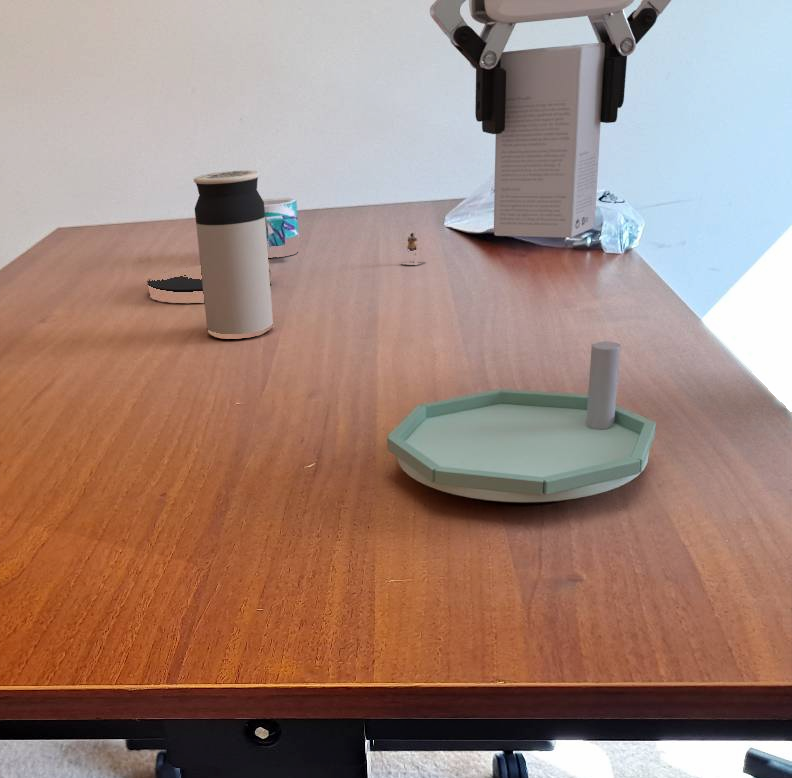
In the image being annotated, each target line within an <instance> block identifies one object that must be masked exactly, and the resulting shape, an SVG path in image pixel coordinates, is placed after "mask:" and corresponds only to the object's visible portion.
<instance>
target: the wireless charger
mask: <svg viewBox="0 0 792 778" xmlns="http://www.w3.org/2000/svg"><path fill="white" fill-rule="evenodd" d="M269 272H270V273H271V269H270V270H269ZM184 276H186V275H184ZM146 283H148V284H147V286H148V285H149V286H151V287H153V288H156V289H160V290H166V291H173V292H193V291H203V284H202V279H201V280H200V279H192V278H189V279H188V277H183V276H180V277H174V278H170V279H167V280H163V279H162V280H161V281H160V280H157V281H155V280H154V281H153V280H152V281H150V280H149V281H148V280H147V281H146Z"/></svg>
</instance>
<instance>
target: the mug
mask: <svg viewBox="0 0 792 778" xmlns="http://www.w3.org/2000/svg"><path fill="white" fill-rule="evenodd" d="M262 200H263V201H264V209H265V223H266V236H267V241H268V244H269V247H271V246H281V245H285V239H287V238H291V237H295V236H296V235H297V234H298V235H299V222H298V221H299V220H298V205H297V199H294V198H290V197H274V198H262Z"/></svg>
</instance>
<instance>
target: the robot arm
mask: <svg viewBox="0 0 792 778" xmlns="http://www.w3.org/2000/svg"><path fill="white" fill-rule="evenodd" d="M466 1H467V0H435V1H434V2H433V3H432V4H431V6H430V8H429V15H430V17H431V18H432V20H433V21H434V22H435V23H436V25H437V26H438V27H439V29H440V30H441V31H442V33H444V35H446V37H447V38H448V39H449V41H450V43H451V45H453V47H454V48H455V49H456V50H457V51H458V52H459V53H460V55H462V56H463V57H464V58H465V59H466V60H467V62H469V65H470V66H471V67H472V68H473V69H474V70H475V105H474V106H475V107H474V108H475V109H474V110H475V113H474V114H475V119H476V122H481V130H482V132H483V133H486V134H490V135H496V134H501V133H502V131H504V130H505V104H506V70H504V68H500V66H501V59H500V57H501V55H502V52H504V50H505V48H506V46H507V44H508V41H509V40H510V37H511V35H512V33H513V31H514V29H515V27H516V25H517V24H522V23H531V22H532V23H534V22H543V21H553V20H563V19H573V18H581V17H583V18H584V17H587V18H588V20H589V22H590V23H589V24H590V25H591V27H592V30H593V32H594V34H595V37H596V39H597V43H604V44H605V55H604V71H603V89H602V107H601V123H605V124H610V123H616V122H617V119H618V112H619V111H618V110H619V109H620V108H622V107H623V105H624V100H625V90H626V89H625V88H626V77H627V75H626V74H627V64H628V56H630V55H632V54H633V53H634V51H635V50H636V46H637V44H638V43H639V42H640V41H641V40H642V39H643V38H644V36H646V34H647V33H648V32H649V31H650V30H651V29H652V28H653V26H654V25H655V24H656V22H657V20H658V19H657V18H658V17H659V16H660V14H662V13H663V12H664V11H665V9H666V8H667V6H668V5H669V4H670V3H671V1H672V0H641V2H640V4H639V5H638V6H637V8H636V9H634V10H633V11H632V12H631V13H630V14H629V15H628V16H626V14H625V11H624V9H627V8H628V7H629V6H631V5H632V4H633V3H634V2H635V0H468V8H469V14H470V16H471V18H472V19H473V20H474V21H476V22H478V23H479V24H483V28H482V30H481V32H480V34H478V33H477V32H476V31H475V30H474V29H473V27H471V26H470V25H468V24H467V22H466V21H465V19H464V18H463V16H462V14H461V7H462V5H463V4H464V3H465V2H466Z"/></svg>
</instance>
